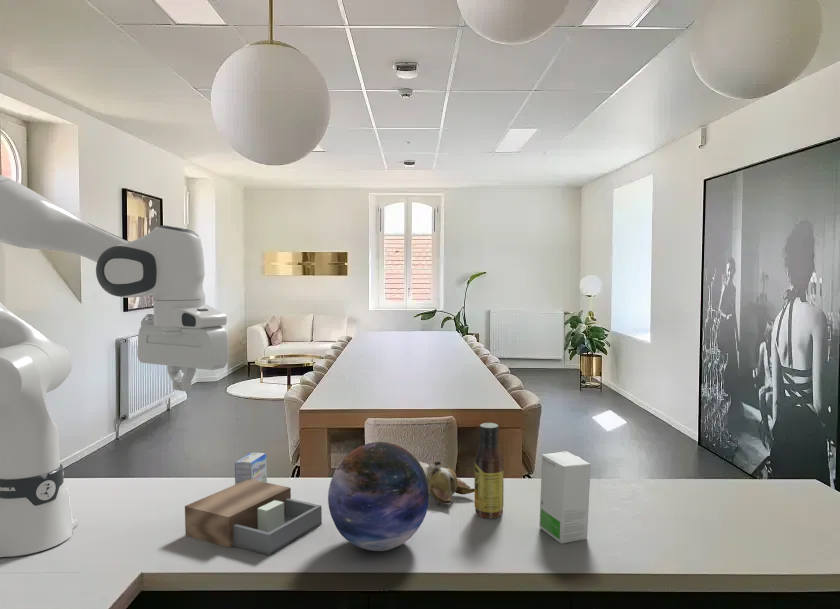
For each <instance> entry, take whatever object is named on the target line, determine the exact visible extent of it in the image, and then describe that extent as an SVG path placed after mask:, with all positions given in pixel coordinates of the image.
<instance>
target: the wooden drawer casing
mask: <svg viewBox="0 0 840 609" xmlns="http://www.w3.org/2000/svg"><path fill="white" fill-rule="evenodd" d="M291 491H292V490H291V487H289V486H284V485H281V484H275V483H271V482H267V483H266V482H261V481H256V480H252V479H248V480H245V481H243V482H240V483H238V484H236V485H235V484H234V485H230V486H229V487H226V488H224V489H221V490H220V491H217V492H215V493H212V494H210V495H208V496H205V497H203V498H200V499H198V500H196V501H193V502H192V503H189V504H186V505H185V506H184V522H185V524H184V526H185V527H184V528H185V532H184V533H185V534H184V535H185V536H186V537H190V538H193V539H198V540H201V541H204V542H208V543H211V544H215V545H218V546H223V547H224V548H225V547H226V548H229V549H230V548H232V547H235V546H234V543H233V525H235V524H238V525H242V526H246V527H250V528H253V529H257V530H258V510H257V508H259V507H261V506H264V505H266V504H268V503H270V502H272V501H274V500H276V501H280V502H284V516H285V499H287V498H289V499H292V495H291V494H292V493H291Z"/></svg>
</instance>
